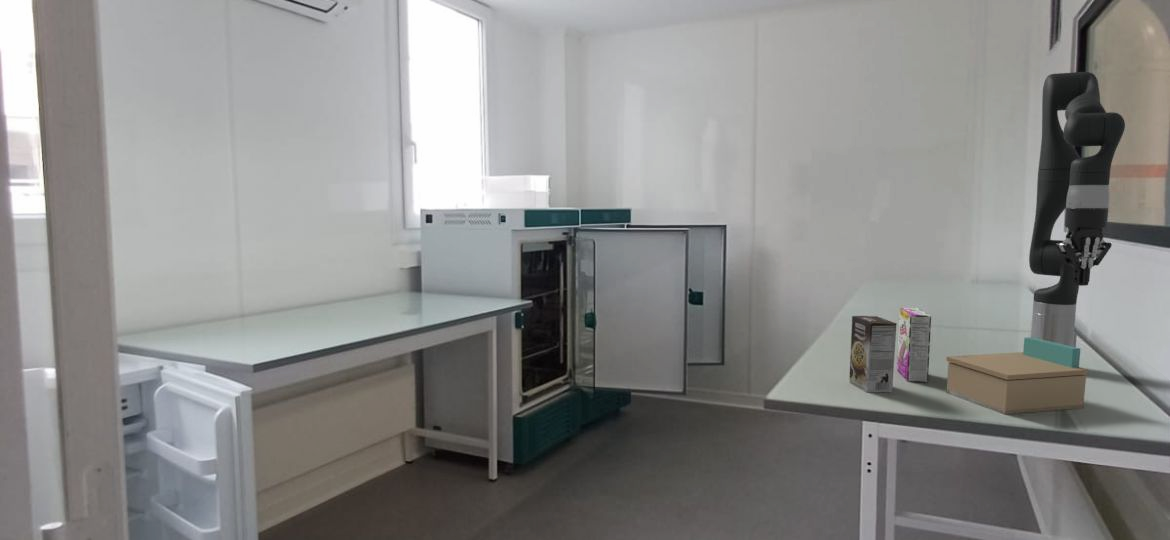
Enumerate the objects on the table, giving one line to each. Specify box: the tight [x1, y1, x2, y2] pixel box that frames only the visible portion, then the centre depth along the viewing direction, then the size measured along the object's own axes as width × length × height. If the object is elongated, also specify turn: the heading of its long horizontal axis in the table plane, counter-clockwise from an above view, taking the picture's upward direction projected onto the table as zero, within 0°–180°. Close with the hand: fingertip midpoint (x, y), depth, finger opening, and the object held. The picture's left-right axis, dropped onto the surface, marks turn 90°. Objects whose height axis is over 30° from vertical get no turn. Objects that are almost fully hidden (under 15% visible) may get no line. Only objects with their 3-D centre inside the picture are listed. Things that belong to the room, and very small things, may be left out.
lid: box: [946, 336, 1090, 380], centre depth 149 cm, size 21×17×5 cm
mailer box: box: [946, 361, 1087, 415], centre depth 149 cm, size 20×16×7 cm
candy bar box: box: [896, 307, 932, 383], centre depth 168 cm, size 11×5×16 cm, turn 168°
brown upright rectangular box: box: [848, 315, 897, 393], centre depth 159 cm, size 9×6×16 cm
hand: (1080, 285), depth 151 cm, fingers closed
